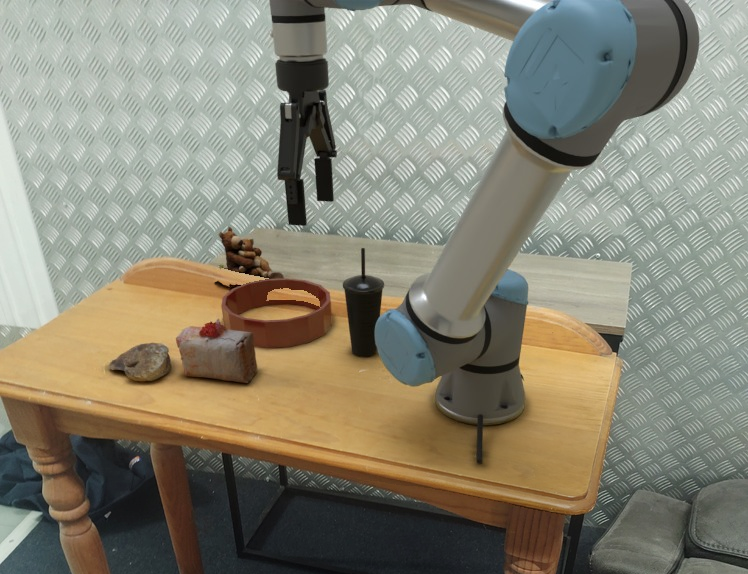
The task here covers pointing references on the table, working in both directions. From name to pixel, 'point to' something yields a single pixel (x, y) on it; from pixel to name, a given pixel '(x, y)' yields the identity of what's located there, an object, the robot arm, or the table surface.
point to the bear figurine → (245, 257)
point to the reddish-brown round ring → (277, 330)
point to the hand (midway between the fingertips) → (312, 212)
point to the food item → (217, 352)
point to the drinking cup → (363, 310)
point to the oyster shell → (144, 362)
